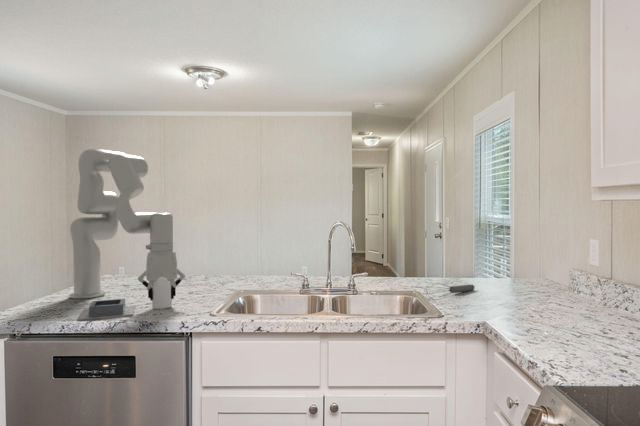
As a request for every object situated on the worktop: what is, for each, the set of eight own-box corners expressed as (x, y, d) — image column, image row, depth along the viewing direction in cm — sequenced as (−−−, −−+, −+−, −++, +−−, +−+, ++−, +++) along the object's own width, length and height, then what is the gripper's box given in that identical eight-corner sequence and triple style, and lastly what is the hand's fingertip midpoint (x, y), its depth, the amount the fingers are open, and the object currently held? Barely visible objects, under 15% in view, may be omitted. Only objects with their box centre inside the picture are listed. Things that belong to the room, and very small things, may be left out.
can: (175, 305, 152) (174, 272, 152) (166, 309, 146) (166, 275, 146) (157, 305, 153) (157, 272, 153) (148, 309, 147) (148, 274, 147)
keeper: (84, 311, 145) (84, 300, 145) (135, 306, 151) (135, 296, 151) (76, 320, 132) (76, 309, 132) (133, 315, 138) (132, 304, 138)
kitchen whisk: (481, 291, 177) (481, 275, 177) (433, 303, 156) (433, 286, 156) (467, 289, 182) (467, 274, 182) (419, 300, 160) (419, 284, 160)
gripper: (134, 249, 143) (134, 303, 143) (188, 248, 149) (188, 299, 149) (135, 248, 150) (135, 298, 150) (186, 246, 156) (187, 295, 156)
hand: (162, 298), depth 149 cm, fingers closed on can, 6 cm apart
